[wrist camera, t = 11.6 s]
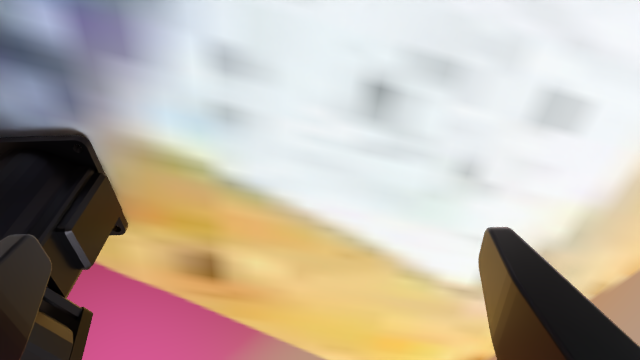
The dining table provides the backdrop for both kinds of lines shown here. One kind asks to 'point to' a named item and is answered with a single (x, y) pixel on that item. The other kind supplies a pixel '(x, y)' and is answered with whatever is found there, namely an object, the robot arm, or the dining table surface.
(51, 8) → the dining table surface
